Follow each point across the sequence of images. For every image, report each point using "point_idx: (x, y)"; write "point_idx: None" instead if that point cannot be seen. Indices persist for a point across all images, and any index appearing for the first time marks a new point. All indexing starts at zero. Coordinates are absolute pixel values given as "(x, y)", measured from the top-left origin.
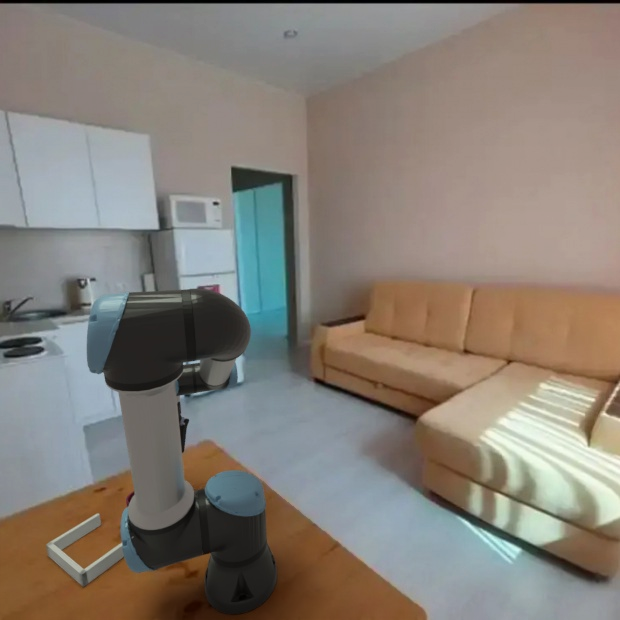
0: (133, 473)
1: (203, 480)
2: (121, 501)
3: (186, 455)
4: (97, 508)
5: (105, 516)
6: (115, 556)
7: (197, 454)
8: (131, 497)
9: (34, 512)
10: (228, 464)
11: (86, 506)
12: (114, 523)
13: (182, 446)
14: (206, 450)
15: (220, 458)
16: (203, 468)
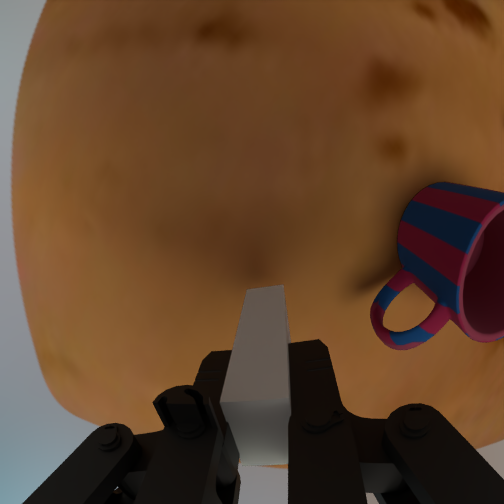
0: None
1: (125, 260)
2: (413, 386)
3: None
4: (457, 395)
5: (476, 348)
6: None
7: (94, 404)
8: (500, 317)
9: (488, 443)
10: (27, 268)
11: (457, 416)
12: None
13: (80, 483)
14: (67, 394)
15: (39, 323)
16: (97, 330)
